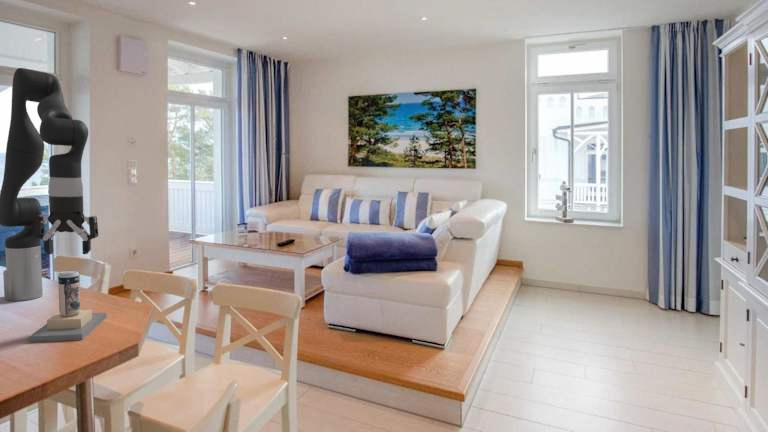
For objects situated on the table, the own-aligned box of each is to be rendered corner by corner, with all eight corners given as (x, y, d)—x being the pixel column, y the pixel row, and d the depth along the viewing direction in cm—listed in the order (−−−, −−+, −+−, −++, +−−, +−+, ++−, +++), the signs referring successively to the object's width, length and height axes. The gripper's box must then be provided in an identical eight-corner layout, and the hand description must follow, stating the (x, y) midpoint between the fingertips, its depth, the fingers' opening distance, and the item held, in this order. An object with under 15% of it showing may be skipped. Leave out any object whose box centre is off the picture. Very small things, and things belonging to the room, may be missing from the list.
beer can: (70, 318, 124) (68, 274, 123) (55, 316, 125) (53, 273, 123) (84, 312, 128) (83, 270, 127) (70, 311, 129) (69, 269, 128)
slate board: (29, 342, 117) (28, 327, 116) (60, 319, 134) (60, 305, 134) (82, 339, 120) (81, 324, 119) (106, 317, 137) (105, 304, 137)
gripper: (101, 194, 128) (102, 251, 130) (42, 192, 125) (44, 251, 126) (90, 196, 121) (92, 256, 123) (28, 194, 117) (30, 256, 119)
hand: (67, 253), depth 125 cm, fingers open, 8 cm apart
